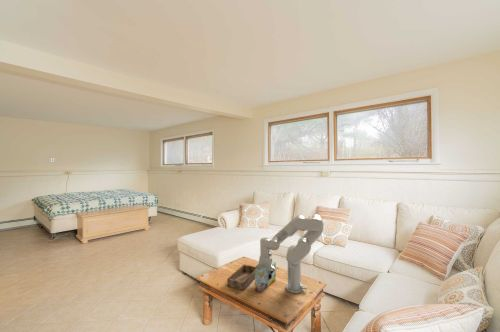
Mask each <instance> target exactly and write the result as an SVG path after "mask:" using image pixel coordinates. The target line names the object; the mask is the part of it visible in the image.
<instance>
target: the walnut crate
mask: <svg viewBox="0 0 500 332" xmlns="http://www.w3.org/2000/svg"><path fill="white" fill-rule="evenodd" d="M255 270H257V267H256V266H254V265H250V264H248V265H247V264H242V265H241V266H240V267H239V268H238V269H236V271H235V272H233V274H231V275H230V276H229V277H228V278H227V288H231V289H233V290H234V289H235V290H239V291H243V292H244V291H246V289H247V288H248V287H249V286H250V285H251V283H252V282H253V281H255Z"/></svg>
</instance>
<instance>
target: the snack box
mask: <svg viewBox="0 0 500 332" xmlns="http://www.w3.org/2000/svg"><path fill="white" fill-rule="evenodd" d="M272 262H273V267H274V268H275V269H276V270H275V271H274V272H273V273H272V278H271V279H270V280H269V271H268V270H267V268H266V267H260V268H258V269H257V270H255V279H254V286H255V287H254V290H255V291H256V292H259V293H262V292H263V291H265V289H267V288H269V286H270V285H272V284H274V282H276V281H277V279H276V278H277V277H276V276H277V273H276V271H277V267H276V264H277V263H276V262H275V261H273V260H272ZM271 270H273V269H271Z"/></svg>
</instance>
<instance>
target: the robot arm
mask: <svg viewBox="0 0 500 332" xmlns="http://www.w3.org/2000/svg"><path fill="white" fill-rule="evenodd" d="M299 231H306V232H305V233H304V234H303V235H302V236H301V237H299V238H298V241H297V244H296V245H295V244H293V245H290V246H289V247H288V248H287V251H286V256H285V258H286V261H287V284H286V285H285V290H287V292H289V293H292V294H299V293H303V291H304V290H306V291H307V290H308V287H307V285H306V284H303V281H302V275H301V274H302V271H301V269H302V268H301V267H302V266H301V265H302V261H303V259H304V258H306V257H307V256H308V255H309V253H310V252H311V250H312V246H313V244H314V243H315V242H316V241H317V240H318V239H319V238H320V237H321V235H322V233H323V231H324V221H323V217H321V215H319V214H313V215H312V216H310V218H306V217H305V216H303V215H301V214H298V215H296V216H295V217H293V218H292V219H291V220H290V221H289V222H288V223H287V224H286V225H285V226H284V227H283V228H282V229H281V230H279V231H278V232H277V233H276V234H275V235H274V236H273V237H272V238H271V239H270V238H269V237H261V238H260V240H259V241H260V246H259V247H260V248H259V249H260V251H259V252H260V253H259V254H260V255H259V257H258V258H259V259H258V264H257V265H256V266H255V267H257V269H258V268H260V267H266V268H267V270H268V271H269V280H270V279H271V278H272V273H273V272H274V271H275V270H276V271H277V268H276V269H275V268H274V267H273V262H274V261H273V258H272V256H273V254H272V253H271V250H272V251H278V250H279V249H280V247H281V244H282V243H283V242H284V241H286V239H288V238H291V237H293V236H294V235H296V233H298V232H299ZM272 261H273V262H272ZM271 269H273V270H271Z"/></svg>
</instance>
